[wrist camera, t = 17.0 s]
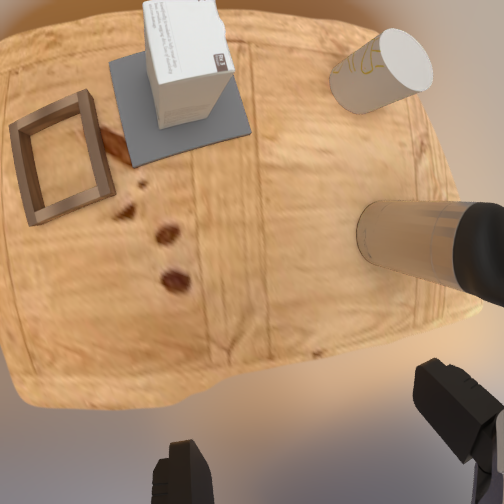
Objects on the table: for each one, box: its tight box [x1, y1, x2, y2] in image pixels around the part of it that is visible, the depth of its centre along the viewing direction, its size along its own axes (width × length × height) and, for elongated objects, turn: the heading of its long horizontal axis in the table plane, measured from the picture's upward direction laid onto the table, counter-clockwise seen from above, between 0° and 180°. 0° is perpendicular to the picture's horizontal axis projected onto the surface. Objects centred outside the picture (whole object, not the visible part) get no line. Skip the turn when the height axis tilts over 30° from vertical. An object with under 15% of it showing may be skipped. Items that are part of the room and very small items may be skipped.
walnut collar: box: [9, 89, 116, 227], centre depth 29 cm, size 10×12×4 cm
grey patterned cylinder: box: [329, 28, 433, 114], centre depth 32 cm, size 8×8×12 cm
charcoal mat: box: [109, 51, 252, 168], centre depth 33 cm, size 14×14×1 cm
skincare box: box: [143, 0, 235, 130], centre depth 25 cm, size 8×6×15 cm
